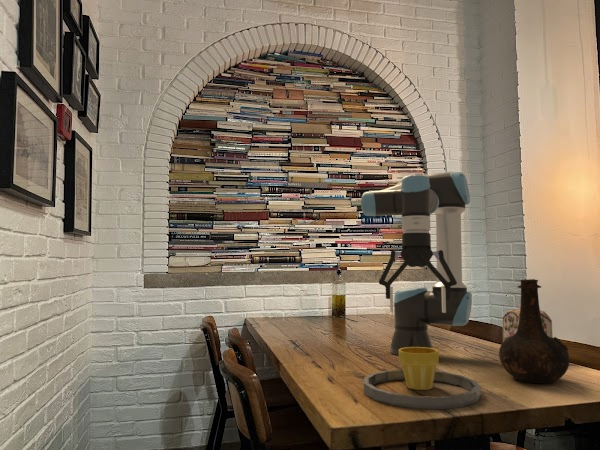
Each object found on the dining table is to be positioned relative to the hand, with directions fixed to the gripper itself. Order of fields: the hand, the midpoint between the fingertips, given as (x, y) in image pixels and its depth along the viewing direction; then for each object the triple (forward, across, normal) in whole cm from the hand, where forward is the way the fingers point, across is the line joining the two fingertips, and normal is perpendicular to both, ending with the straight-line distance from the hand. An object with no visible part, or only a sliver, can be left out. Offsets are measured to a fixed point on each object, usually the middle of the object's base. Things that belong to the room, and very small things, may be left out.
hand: (417, 311), depth 132 cm
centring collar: (+20, 0, -5) cm, 20 cm away
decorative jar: (+20, +39, +48) cm, 64 cm away
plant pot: (+20, 0, 0) cm, 20 cm away
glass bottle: (+20, +32, +14) cm, 40 cm away
